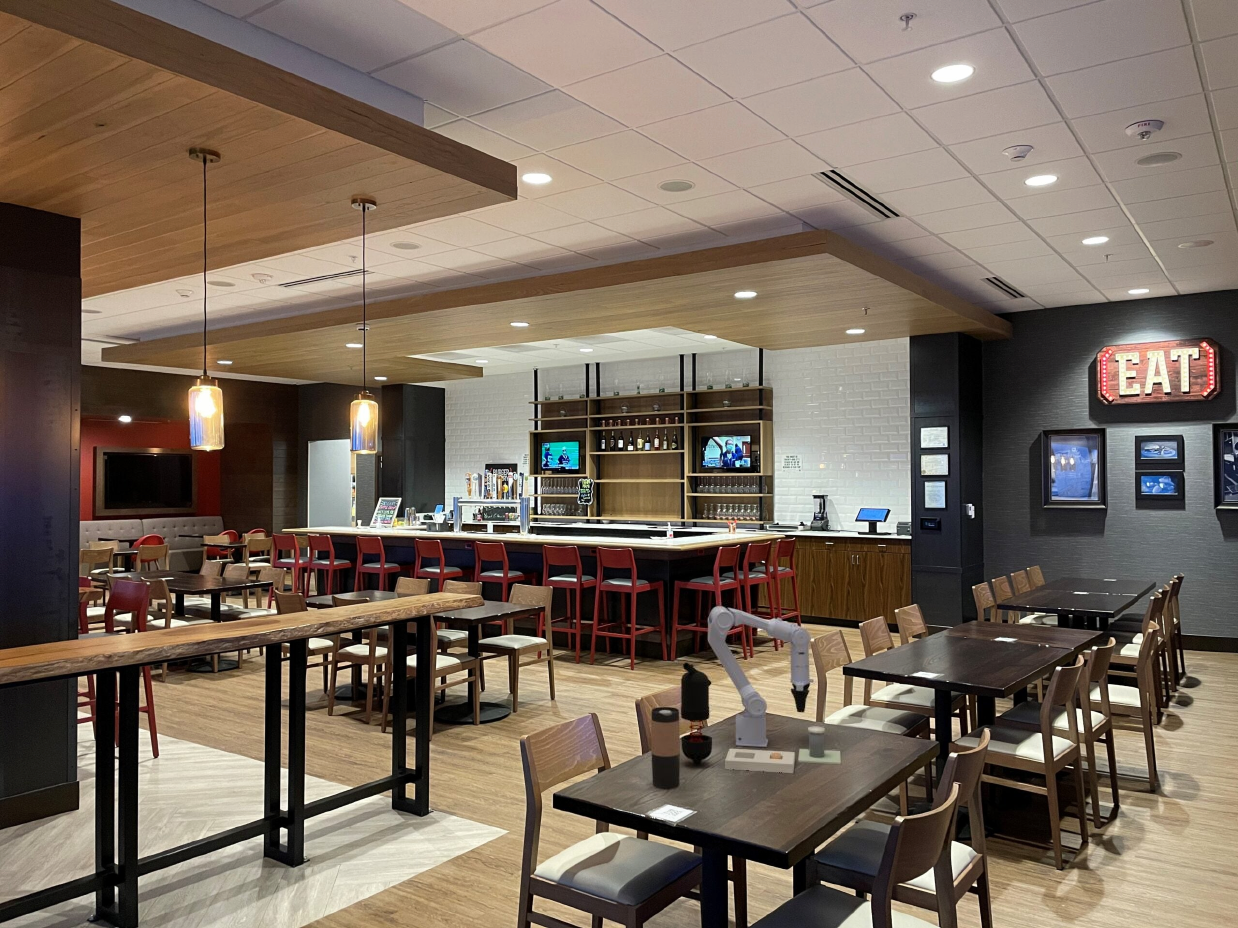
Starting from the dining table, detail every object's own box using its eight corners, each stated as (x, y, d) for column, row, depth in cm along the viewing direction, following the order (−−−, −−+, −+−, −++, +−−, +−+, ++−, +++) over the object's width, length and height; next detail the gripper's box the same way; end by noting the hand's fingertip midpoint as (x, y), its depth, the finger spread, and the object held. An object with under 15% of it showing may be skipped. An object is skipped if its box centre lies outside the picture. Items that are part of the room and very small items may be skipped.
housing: (725, 768, 257) (725, 760, 257) (729, 756, 268) (729, 748, 268) (793, 773, 252) (793, 764, 252) (794, 760, 264) (794, 752, 264)
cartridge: (809, 757, 265) (809, 730, 265) (807, 752, 270) (807, 725, 270) (826, 758, 265) (825, 730, 265) (824, 753, 269) (823, 726, 270)
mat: (798, 761, 263) (798, 760, 263) (799, 750, 274) (799, 748, 274) (840, 764, 260) (840, 762, 260) (840, 752, 272) (840, 750, 272)
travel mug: (663, 778, 249) (662, 705, 249) (685, 783, 244) (685, 709, 244) (646, 785, 243) (645, 710, 243) (669, 791, 238) (668, 714, 238)
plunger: (771, 764, 258) (770, 755, 258) (771, 761, 261) (771, 752, 261) (780, 764, 258) (780, 755, 258) (781, 761, 260) (781, 753, 260)
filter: (700, 771, 254) (699, 664, 255) (673, 766, 260) (672, 661, 260) (724, 760, 265) (723, 657, 266) (697, 755, 270) (696, 654, 271)
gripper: (812, 670, 276) (813, 714, 276) (813, 661, 290) (814, 703, 290) (789, 669, 278) (790, 714, 277) (791, 660, 292) (792, 703, 291)
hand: (801, 708), depth 284 cm, fingers open, 7 cm apart
